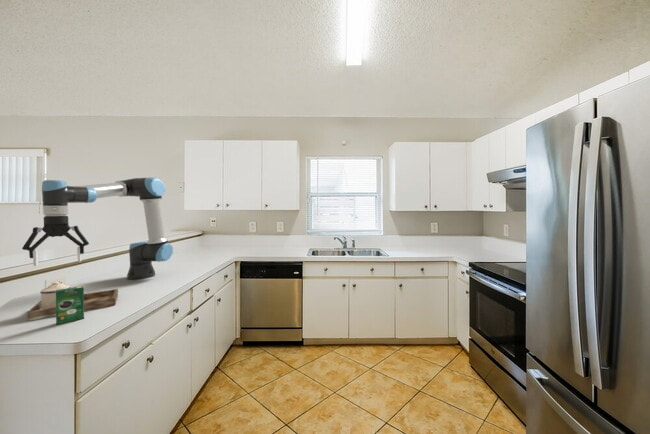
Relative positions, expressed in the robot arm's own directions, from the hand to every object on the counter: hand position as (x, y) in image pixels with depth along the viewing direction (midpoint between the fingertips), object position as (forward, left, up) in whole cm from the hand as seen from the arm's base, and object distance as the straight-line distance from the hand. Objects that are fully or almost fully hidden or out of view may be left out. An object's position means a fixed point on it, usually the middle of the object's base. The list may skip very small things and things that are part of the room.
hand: (58, 263), depth 113 cm
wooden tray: (-6, +1, -21) cm, 21 cm away
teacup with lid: (0, +1, -20) cm, 20 cm away
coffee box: (-6, +20, -21) cm, 30 cm away
